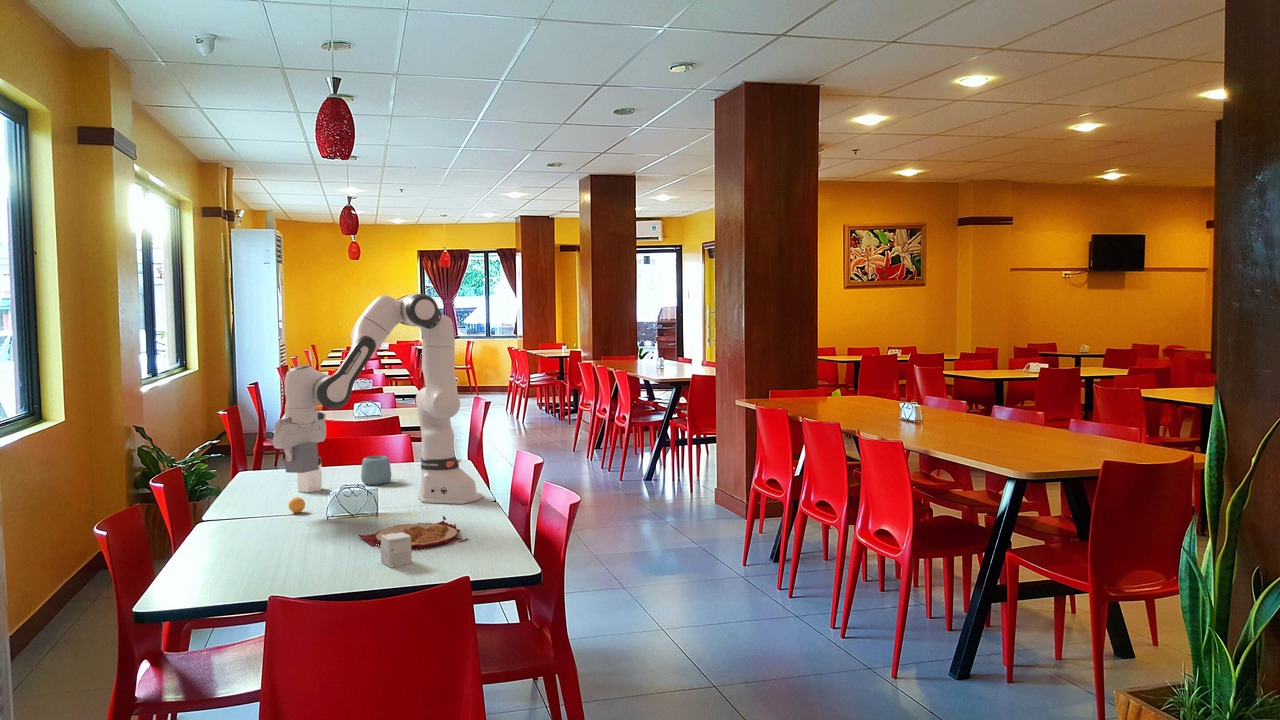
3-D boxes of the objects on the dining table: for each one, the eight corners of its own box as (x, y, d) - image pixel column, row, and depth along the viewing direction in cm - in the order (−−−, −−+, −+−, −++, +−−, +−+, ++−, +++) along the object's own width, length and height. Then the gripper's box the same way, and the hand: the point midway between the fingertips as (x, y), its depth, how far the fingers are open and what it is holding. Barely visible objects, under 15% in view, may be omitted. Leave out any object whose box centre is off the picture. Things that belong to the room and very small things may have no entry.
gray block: (318, 469, 287) (317, 442, 287) (303, 472, 280) (301, 445, 280) (301, 468, 290) (300, 442, 289) (285, 472, 283) (284, 445, 283)
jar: (302, 493, 318) (301, 460, 317) (293, 490, 323) (292, 457, 323) (326, 490, 324) (325, 457, 323) (317, 486, 330) (316, 454, 329)
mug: (372, 478, 346) (371, 453, 345) (399, 478, 345) (399, 453, 344) (356, 486, 331) (355, 459, 330) (384, 486, 330) (384, 459, 329)
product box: (389, 568, 225) (388, 539, 224) (380, 562, 230) (380, 534, 229) (412, 564, 228) (411, 536, 228) (403, 558, 233) (402, 531, 233)
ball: (296, 495, 290) (296, 510, 291) (285, 497, 286) (285, 513, 286) (308, 496, 289) (308, 511, 289) (297, 499, 284) (297, 515, 284)
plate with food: (357, 541, 255) (357, 529, 255) (444, 525, 271) (443, 513, 270) (388, 561, 235) (388, 548, 235) (480, 543, 251) (479, 530, 250)
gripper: (283, 420, 274) (284, 464, 274) (329, 413, 293) (329, 455, 293) (267, 419, 276) (268, 463, 277) (314, 412, 295) (314, 454, 296)
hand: (300, 459), depth 285 cm, fingers closed on gray block, 7 cm apart
